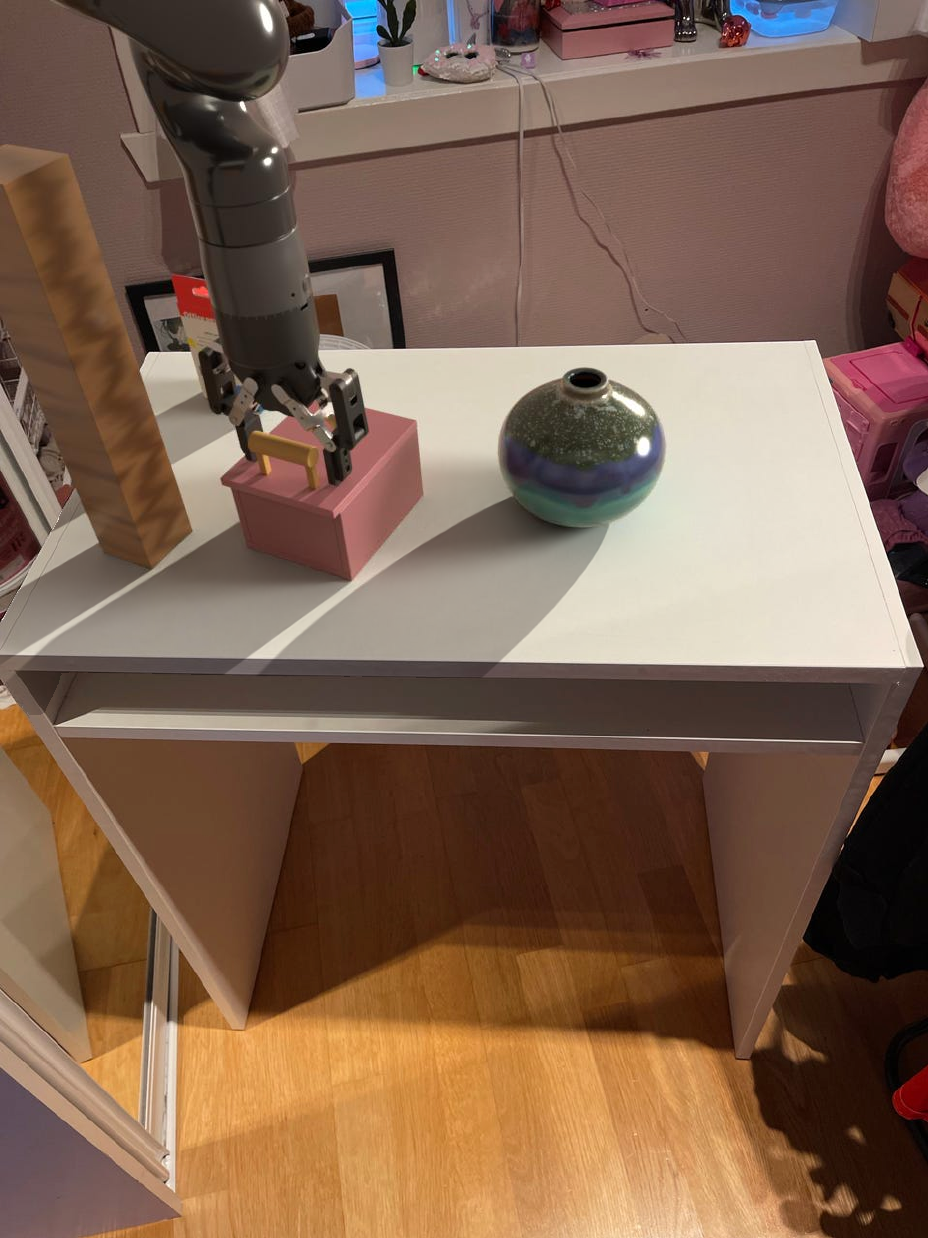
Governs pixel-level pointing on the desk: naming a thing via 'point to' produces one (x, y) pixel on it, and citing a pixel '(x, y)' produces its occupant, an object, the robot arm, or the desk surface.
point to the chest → (337, 519)
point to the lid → (314, 463)
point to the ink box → (197, 319)
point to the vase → (581, 449)
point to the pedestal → (83, 359)
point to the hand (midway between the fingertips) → (297, 468)
